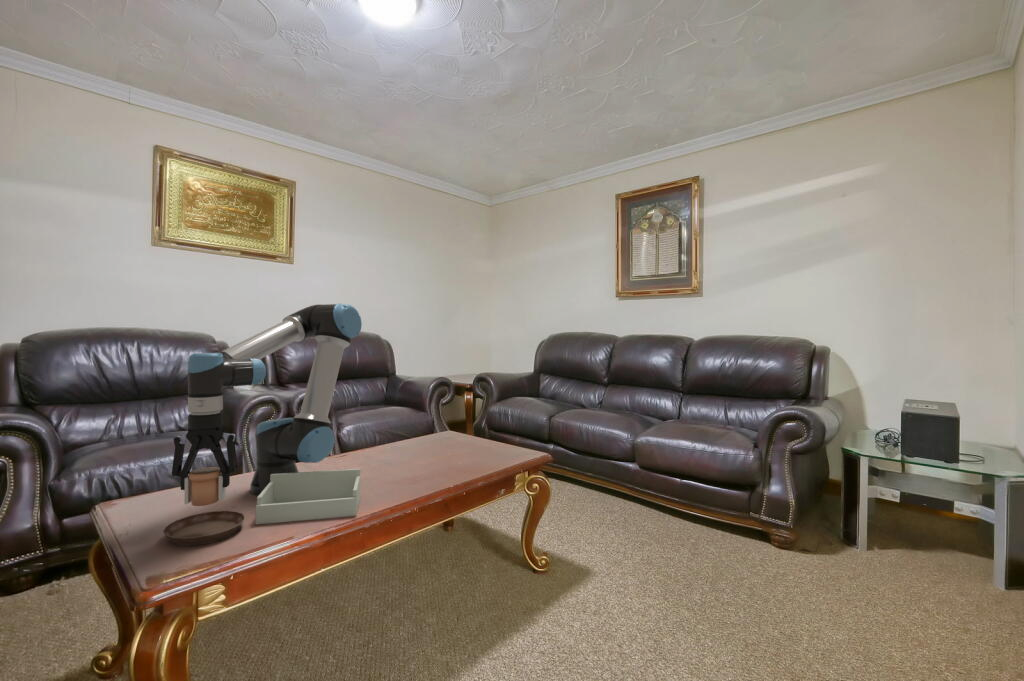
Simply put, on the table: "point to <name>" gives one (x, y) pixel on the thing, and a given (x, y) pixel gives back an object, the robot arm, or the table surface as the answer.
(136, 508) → the table surface
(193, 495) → the terracotta pot
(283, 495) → the frame
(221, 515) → the plant saucer
